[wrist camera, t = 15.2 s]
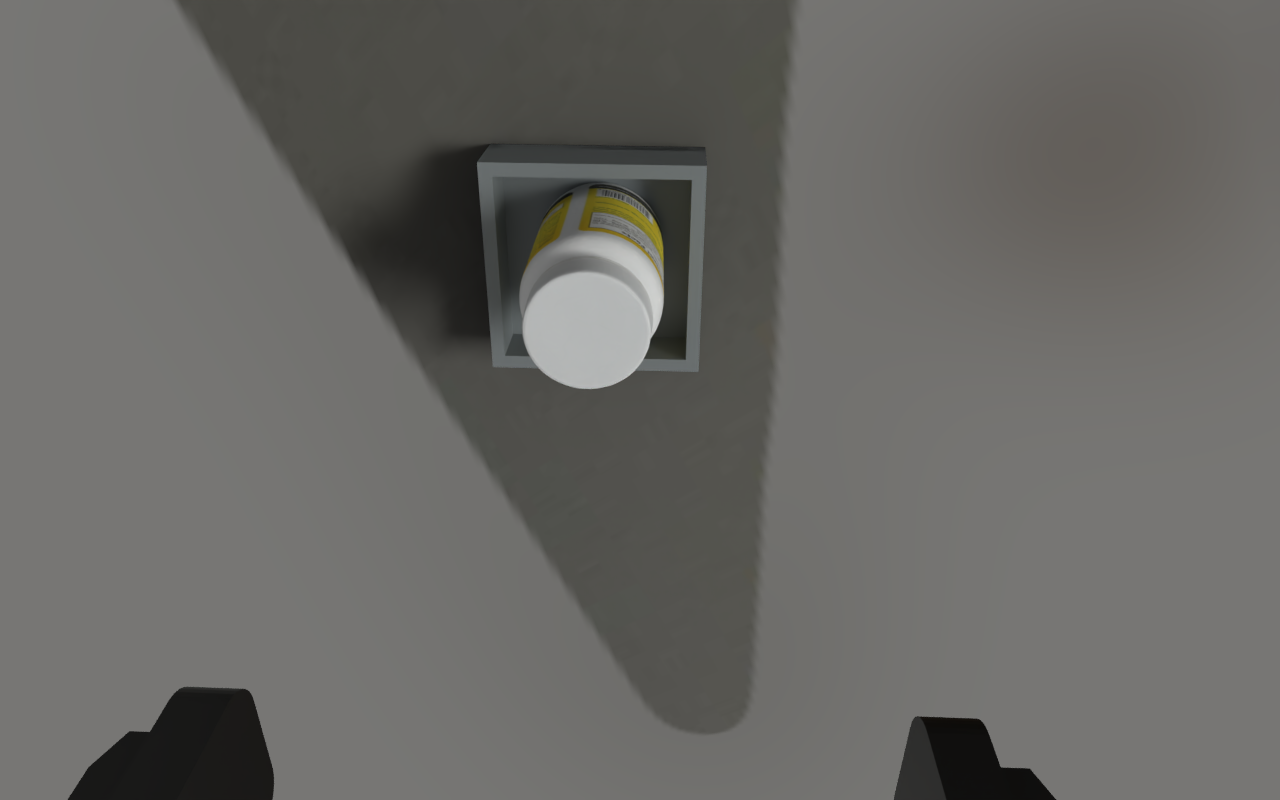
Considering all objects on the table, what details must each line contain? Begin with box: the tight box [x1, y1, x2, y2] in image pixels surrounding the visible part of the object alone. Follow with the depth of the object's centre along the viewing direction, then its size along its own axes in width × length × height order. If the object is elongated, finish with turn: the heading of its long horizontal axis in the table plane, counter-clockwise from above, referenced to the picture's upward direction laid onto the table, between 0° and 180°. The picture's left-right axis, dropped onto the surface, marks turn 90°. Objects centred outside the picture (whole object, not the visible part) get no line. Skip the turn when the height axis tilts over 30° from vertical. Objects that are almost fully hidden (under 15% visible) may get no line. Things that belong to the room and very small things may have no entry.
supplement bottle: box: [519, 183, 664, 389], centre depth 32 cm, size 5×5×8 cm
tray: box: [477, 144, 707, 372], centre depth 35 cm, size 8×8×3 cm
